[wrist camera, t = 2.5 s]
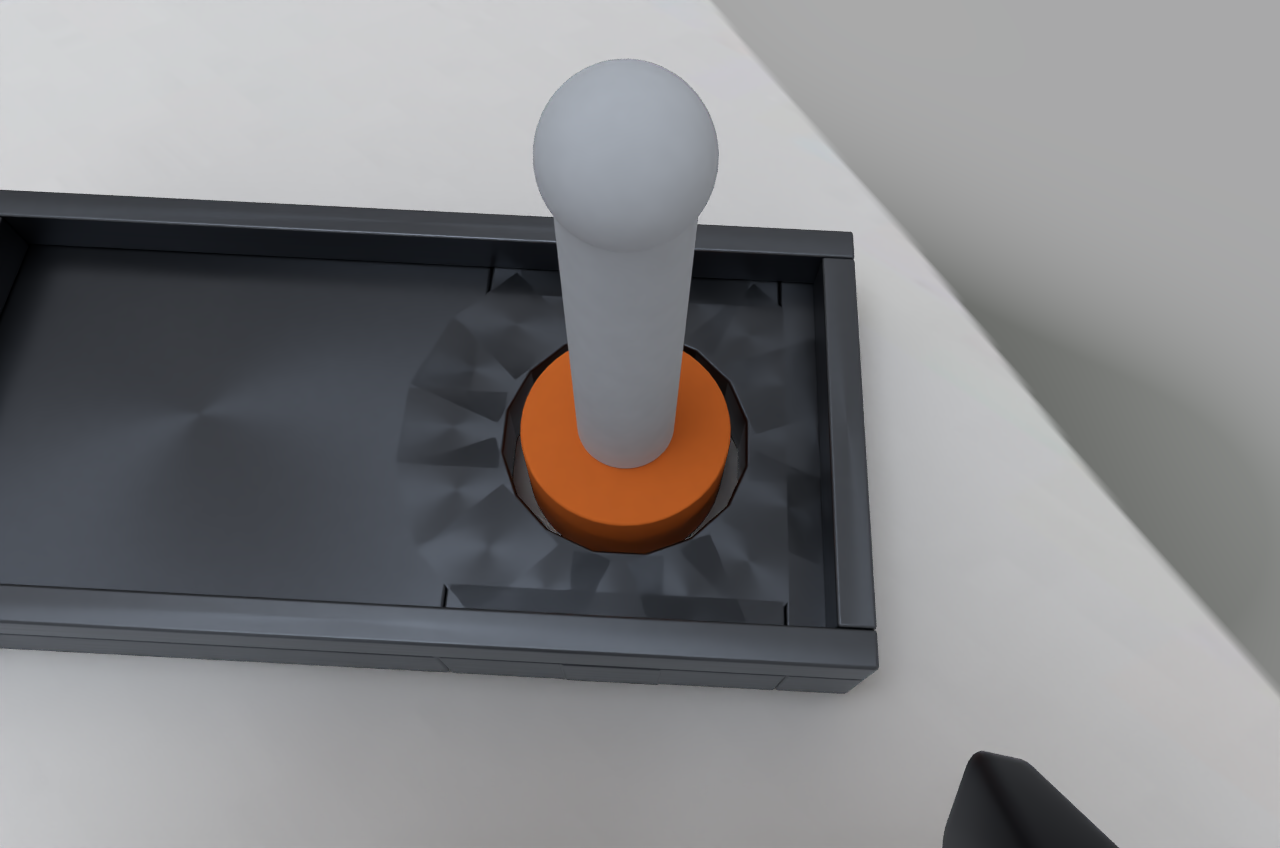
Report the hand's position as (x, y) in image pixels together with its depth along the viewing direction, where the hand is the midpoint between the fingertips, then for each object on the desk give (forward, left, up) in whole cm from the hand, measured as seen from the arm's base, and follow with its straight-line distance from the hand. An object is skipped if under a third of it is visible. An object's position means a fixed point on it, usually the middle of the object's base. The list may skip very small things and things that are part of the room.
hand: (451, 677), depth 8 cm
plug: (+2, +7, -13) cm, 15 cm away
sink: (-3, +8, -13) cm, 16 cm away
